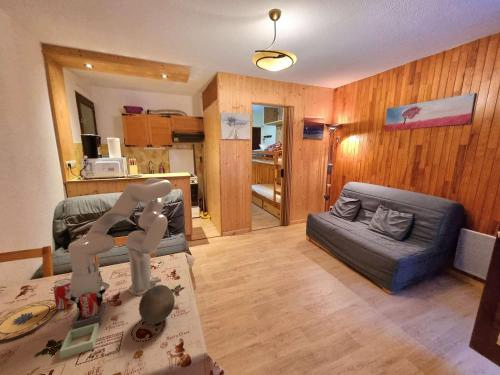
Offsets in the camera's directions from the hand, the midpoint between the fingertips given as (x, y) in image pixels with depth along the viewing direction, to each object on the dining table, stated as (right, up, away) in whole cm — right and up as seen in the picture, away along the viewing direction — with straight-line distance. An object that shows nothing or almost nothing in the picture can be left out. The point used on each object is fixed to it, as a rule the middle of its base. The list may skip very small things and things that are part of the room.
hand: (90, 305), depth 91 cm
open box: (+2, -7, -5) cm, 9 cm away
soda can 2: (0, -4, +1) cm, 4 cm away
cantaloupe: (+30, -6, 0) cm, 30 cm away
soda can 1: (-17, -4, +8) cm, 19 cm away
